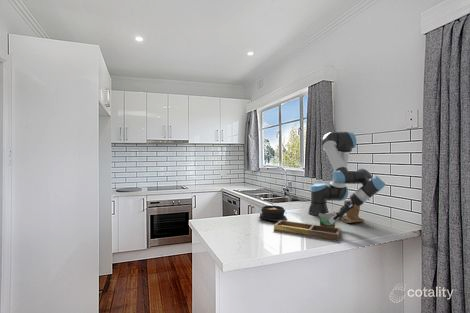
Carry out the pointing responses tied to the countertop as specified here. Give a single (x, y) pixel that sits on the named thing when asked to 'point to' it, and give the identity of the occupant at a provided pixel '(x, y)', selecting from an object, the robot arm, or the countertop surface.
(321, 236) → the walnut divided tray
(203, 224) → the countertop surface
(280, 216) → the casserole
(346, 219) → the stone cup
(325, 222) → the food container
